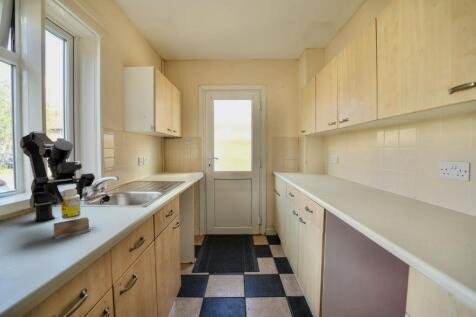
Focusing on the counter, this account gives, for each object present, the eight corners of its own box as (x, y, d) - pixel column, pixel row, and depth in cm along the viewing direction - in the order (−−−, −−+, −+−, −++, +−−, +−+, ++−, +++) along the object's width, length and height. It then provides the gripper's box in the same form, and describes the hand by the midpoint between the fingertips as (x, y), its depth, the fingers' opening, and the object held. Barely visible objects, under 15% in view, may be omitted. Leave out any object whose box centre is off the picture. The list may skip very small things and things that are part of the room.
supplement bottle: (60, 217, 83) (59, 190, 82) (78, 214, 87) (77, 188, 86) (63, 221, 79) (62, 192, 79) (82, 217, 83) (81, 190, 83)
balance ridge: (55, 239, 78) (55, 226, 77) (53, 235, 82) (53, 222, 81) (89, 231, 85) (89, 219, 84) (86, 228, 89) (86, 216, 88)
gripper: (31, 154, 76) (43, 190, 71) (92, 153, 92) (106, 182, 86) (26, 176, 81) (37, 211, 76) (84, 171, 97) (97, 200, 91)
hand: (72, 200), depth 82 cm, fingers closed on supplement bottle, 6 cm apart
